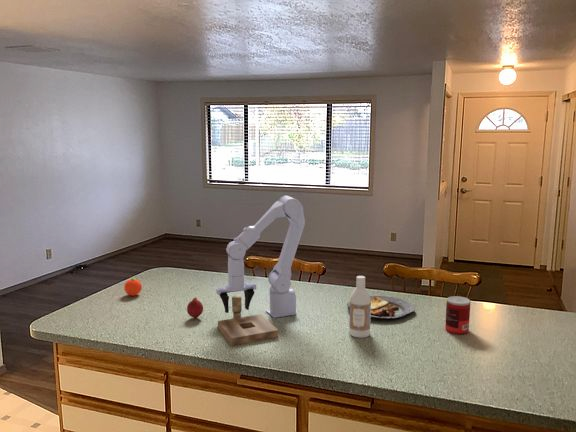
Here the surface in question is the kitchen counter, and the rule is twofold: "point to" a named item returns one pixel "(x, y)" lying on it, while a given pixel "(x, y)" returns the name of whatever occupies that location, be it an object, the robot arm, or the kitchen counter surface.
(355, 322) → the bath foam
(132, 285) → the clementine
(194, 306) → the pomegranate
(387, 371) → the kitchen counter surface
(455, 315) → the canned food
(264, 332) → the board
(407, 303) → the food plate
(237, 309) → the peg
